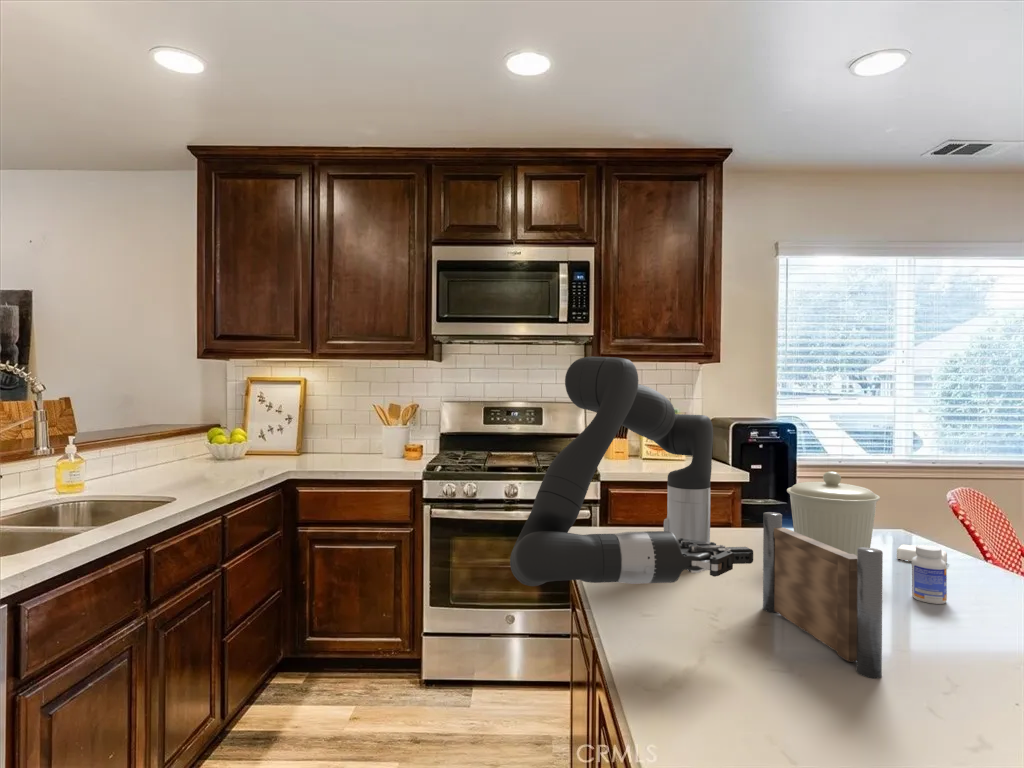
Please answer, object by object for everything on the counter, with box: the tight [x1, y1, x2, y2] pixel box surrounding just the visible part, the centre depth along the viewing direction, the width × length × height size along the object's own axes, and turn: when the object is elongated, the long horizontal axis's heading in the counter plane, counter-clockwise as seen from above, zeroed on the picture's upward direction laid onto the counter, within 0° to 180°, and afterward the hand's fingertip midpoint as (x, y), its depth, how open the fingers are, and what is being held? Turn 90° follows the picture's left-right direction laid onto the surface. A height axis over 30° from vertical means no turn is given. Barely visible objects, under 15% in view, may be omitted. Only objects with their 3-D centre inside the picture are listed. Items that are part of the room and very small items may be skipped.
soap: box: [896, 544, 948, 564], centre depth 137 cm, size 9×6×3 cm, turn 47°
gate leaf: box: [774, 527, 857, 663], centre depth 94 cm, size 19×2×15 cm, turn 8°
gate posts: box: [762, 511, 884, 679], centre depth 94 cm, size 26×3×17 cm, turn 8°
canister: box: [786, 471, 881, 555], centre depth 131 cm, size 18×18×21 cm
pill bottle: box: [911, 544, 948, 605], centre depth 112 cm, size 5×5×10 cm
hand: (750, 554), depth 92 cm, fingers closed
